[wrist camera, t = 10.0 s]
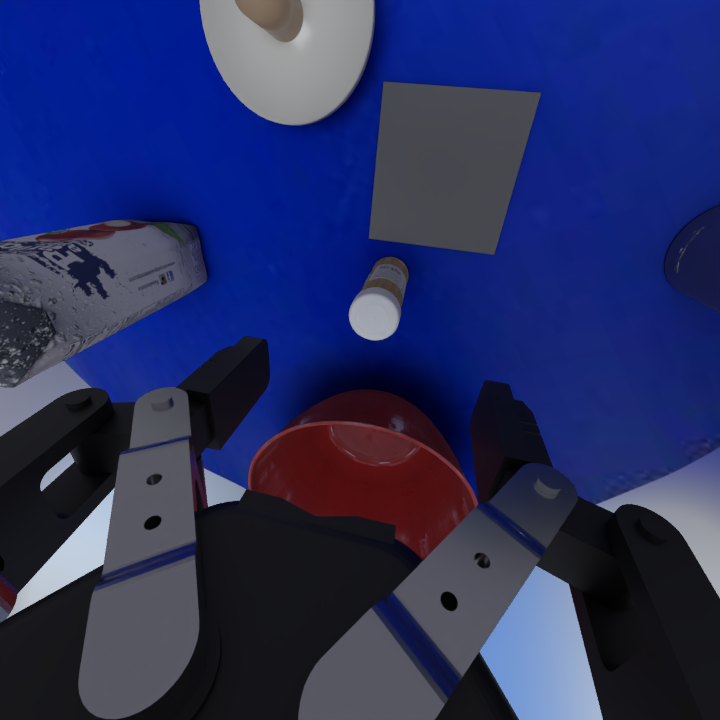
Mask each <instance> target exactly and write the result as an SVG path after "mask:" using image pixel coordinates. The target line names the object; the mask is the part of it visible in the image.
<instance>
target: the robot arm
mask: <svg viewBox="0 0 720 720" xmlns="http://www.w3.org/2000/svg"><path fill="white" fill-rule="evenodd" d="M665 274H666V277H667V279H668V281H669V283H670V284H671V285H672V286H673V287H674V288H675V289H677V290H678V291H680V292H681V293H683V294H685V295H687V296H689V297H691V298H693V299H695V300H696V301H698V302H700V303H702V304H703V305H705V306H707V307H709V308H711V309H713V310H715V311H716V312H718V313H720V206H717V207H715V208H713V209H710V210H708V211H707V212H705V213H703V214H702V215H700V216H698V217H697V218H696V219H694V220H693V221H692V222H691V223H689V224H688V225H687V226H686V227H685V228H684V229H683V230H682V231H681V232H680V233H679V234H678V235H677V237H676V238H675V240H674V241H673V243H672V244H671V246H670V248H669V251H668V253H667V255H666V260H665ZM269 379H270V367H269V352H268V343H267V341H266V340H265V339H260V338H255V337H249V336H245V337H243V338H242V339H241V340H240V341H239V342H238V343H237V344H236V345H235V346H233V347H232V346H229V347H227V348H225V349H223V350H220V351H218V352H217V353H215V354H214V355H213V356H212V357H211V358H210V359H209V360H208V361H206V362H205V363H204V364H203V365H202V366H201V367H199V368H198V369H197V370H196V371H195V372H193V373H192V374H191V375H190V376H189V377H188V378H186V379H185V380H184V381H183V382H182V383H181V384H180V385H178V386H177V387H176V388H172V387H169V388H161V389H157V390H153V391H151V392H148V393H147V394H145V395H143V396H142V397H141V398H139V399H138V400H137V402H128V403H111V400H110V398H109V395H108V393H107V392H106V391H105V390H102V389H99V388H86V389H80V390H76V391H73V392H70V393H67V394H65V395H63V396H61V397H59V398H57V399H56V400H54V401H53V402H51V403H50V404H48V405H47V406H45V407H44V408H43V409H41V410H40V411H38V412H37V413H35V414H34V415H32V416H31V417H29V418H28V419H26V420H25V421H23V422H22V423H20V424H19V425H17V426H16V427H14V428H13V429H12V430H10V431H8V432H7V433H5V434H4V435H2V436H1V437H0V720H519V719H518V717H517V716H516V714H515V712H514V710H513V709H512V707H511V705H510V704H509V702H508V700H507V699H506V697H505V695H504V693H503V692H502V690H501V688H500V687H499V685H498V683H497V681H496V679H495V678H494V676H493V674H492V673H491V671H490V669H489V668H488V666H487V664H486V662H485V661H484V659H483V657H482V655H481V654H480V652H479V651H480V649H481V648H482V647H483V645H484V644H485V642H486V640H487V639H488V637H489V636H490V634H491V633H492V631H493V630H494V628H495V627H496V625H497V624H498V622H499V621H500V619H501V618H502V616H503V615H504V613H505V612H506V610H507V609H508V607H509V606H510V604H511V603H512V601H513V599H514V598H515V596H516V595H517V593H518V592H519V590H520V589H521V587H522V586H523V584H524V583H525V581H526V580H527V578H528V577H529V575H530V574H531V572H532V571H533V569H534V568H535V566H538V567H540V568H542V569H543V570H545V571H547V572H549V573H550V574H552V575H554V576H556V577H558V578H560V579H561V580H563V581H565V582H567V583H569V586H570V590H571V594H572V598H573V602H574V606H575V610H576V614H577V618H578V621H579V625H580V630H581V634H582V638H583V641H584V646H585V650H586V653H587V658H588V662H589V665H590V669H591V673H592V677H593V681H594V685H595V689H596V693H597V697H598V701H599V705H600V709H601V713H602V717H603V720H720V598H719V596H718V595H717V593H716V591H715V590H714V588H713V586H712V585H711V583H710V581H709V580H708V578H707V576H706V574H705V573H704V571H703V569H702V568H701V566H700V564H699V563H698V561H697V559H696V557H695V556H694V554H693V552H692V551H691V549H690V547H689V546H688V544H687V542H686V541H685V539H684V538H683V536H682V535H681V534H680V532H679V531H678V530H677V529H676V528H675V527H674V526H673V525H672V524H671V523H669V522H668V521H667V520H666V519H664V518H663V517H661V516H660V515H658V514H657V513H655V512H653V511H651V510H649V509H647V508H644V507H641V506H638V505H633V504H626V505H622V506H620V507H619V508H618V509H617V510H616V511H615V513H612V512H610V511H608V510H606V509H604V508H601V507H599V506H597V505H595V504H593V503H591V502H588V501H586V500H584V499H582V498H581V497H579V496H578V494H577V491H576V489H575V487H574V485H573V484H572V483H571V481H570V480H569V479H568V478H567V477H566V476H565V475H563V474H562V473H561V472H559V471H558V470H556V469H554V468H553V466H552V463H551V461H550V458H549V455H548V453H547V450H546V447H545V445H544V442H543V439H542V437H541V435H540V431H539V429H538V426H536V424H537V423H536V421H535V418H534V415H533V413H532V411H531V410H530V409H529V408H528V407H527V406H526V405H525V404H524V403H523V401H518V400H514V398H513V395H512V392H511V389H510V386H509V384H505V383H500V382H494V381H489V380H485V382H484V383H483V386H482V388H481V391H480V394H479V397H478V400H477V403H476V405H475V408H474V411H473V414H472V418H471V424H470V433H471V442H472V450H473V459H474V467H475V476H476V484H477V492H478V501H479V504H478V505H477V506H476V507H475V508H474V509H473V510H472V511H471V512H470V513H469V514H468V515H467V516H466V517H465V518H464V519H463V521H462V522H461V523H460V524H459V525H458V526H457V527H456V528H455V529H454V530H453V531H452V532H451V533H450V534H449V535H448V536H447V537H446V538H445V539H444V540H443V541H442V542H441V543H440V544H439V545H438V546H437V547H436V548H435V549H434V550H433V551H432V552H431V553H430V554H429V555H428V556H427V557H426V558H425V559H424V560H422V559H421V557H420V556H419V555H418V554H416V553H415V552H414V551H413V550H412V549H411V548H409V547H408V546H407V545H405V544H404V543H402V542H401V541H399V540H397V539H395V531H396V525H392V524H388V523H384V522H380V521H375V520H371V519H367V518H363V517H359V516H315V515H312V514H311V513H309V512H307V511H305V510H303V509H301V508H300V507H298V506H296V505H294V504H292V503H290V502H289V501H287V500H285V499H283V498H280V497H276V496H272V495H268V494H264V493H260V492H256V491H252V490H247V489H246V491H245V493H244V495H243V496H242V498H241V500H240V501H232V502H225V503H220V504H216V505H213V506H210V507H208V504H207V495H206V486H205V477H204V468H203V459H202V455H201V453H202V452H203V451H204V450H205V448H206V447H207V448H211V449H215V450H220V449H221V448H222V447H223V445H224V444H225V443H226V441H227V440H228V439H229V437H230V436H231V435H232V433H233V432H234V431H235V430H236V428H237V427H238V426H239V424H240V423H241V422H242V420H243V419H244V418H245V416H246V415H247V414H248V412H249V411H250V410H251V408H252V407H253V406H254V404H255V403H256V402H257V400H258V399H259V398H260V396H261V395H262V394H263V392H264V391H265V390H266V388H267V386H268V383H269ZM69 452H70V453H71V455H72V457H73V459H74V461H75V462H74V463H73V464H72V465H71V466H70V467H68V468H67V469H66V470H65V471H64V472H63V473H62V474H61V475H60V476H58V477H57V478H56V479H55V480H54V481H53V482H52V483H51V484H50V485H48V486H47V487H46V488H45V489H44V490H43V491H42V492H41V490H40V483H41V480H42V478H43V476H44V475H45V474H46V472H47V471H48V470H50V469H51V468H52V467H53V466H54V465H55V464H57V463H58V462H59V461H60V460H61V459H62V458H64V457H65V456H66V455H67V454H68V453H69ZM114 487H115V490H114V497H113V505H112V512H111V518H110V525H109V532H108V539H107V546H106V553H105V560H104V564H103V565H102V566H100V567H98V568H96V569H95V570H93V571H91V572H89V573H87V574H86V575H84V576H82V577H80V578H78V579H77V580H75V581H73V582H71V583H70V584H68V585H66V586H64V587H62V588H61V589H59V590H57V591H55V592H54V593H52V594H50V595H48V596H46V597H45V598H43V599H41V600H39V601H38V602H36V603H34V604H32V605H30V606H29V607H27V608H25V609H23V610H21V611H20V612H18V613H16V614H14V615H13V616H11V617H9V618H7V617H8V616H9V614H10V612H11V611H12V609H13V607H14V605H15V602H16V599H17V594H18V593H19V591H20V590H21V589H22V588H23V587H24V586H25V585H26V584H27V583H28V582H29V581H30V579H31V578H32V577H33V576H34V575H35V574H36V573H37V572H38V571H39V570H40V568H41V567H42V566H43V565H44V564H45V563H46V562H47V561H48V559H50V557H51V556H52V555H53V554H54V553H55V552H56V551H57V550H58V549H59V548H60V546H61V545H62V544H63V543H64V542H65V541H66V540H67V539H68V538H69V537H70V535H71V534H72V533H73V532H74V531H75V530H76V529H77V528H78V527H79V526H80V525H81V524H82V522H83V521H84V520H85V519H86V518H87V517H88V516H89V515H90V514H91V513H92V511H93V510H94V509H95V508H96V507H97V506H98V505H99V504H100V503H101V501H102V500H103V499H104V498H105V497H106V496H107V495H108V494H109V493H110V492H111V491H112V490H113V488H114ZM6 618H7V619H6Z"/></svg>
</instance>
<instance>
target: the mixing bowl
mask: <svg viewBox="0 0 720 720" xmlns="http://www.w3.org/2000/svg"><path fill="white" fill-rule="evenodd" d="M248 486H249V490H252V491H256V492H260V493H264V494H268V495H272V496H276V497H280V498H283V499H285V500H287V501H289V502H290V503H292V504H294V505H296V506H298V507H300V508H301V509H303V510H305V511H307V512H309V513H311V514H312V515H315V516H359V517H363V518H367V519H371V520H375V521H380V522H384V523H388V524H392V525H396V531H395V539H397V540H399V541H401V542H402V543H404V544H405V545H407V546H408V547H409V548H411V549H412V550H413V551H414V552H415V553H416V554H418V555H419V556H420V557H421V559H422V560H424V559H425V558H426V557H427V556H428V555H429V554H430V553H431V552H432V551H433V550H434V549H435V548H436V547H437V546H438V545H439V544H440V543H441V542H442V541H443V540H444V539H445V538H446V537H447V536H448V535H449V534H450V533H451V532H452V531H453V530H454V529H455V528H456V527H457V526H458V525H459V524H460V523H461V522H462V521H463V519H464V518H465V517H466V516H467V515H468V514H469V513H470V512H471V511H472V510H473V509H474V508H475V507H476V506H477V505H478V502H477V499H476V496H475V494H474V492H473V490H472V488H471V486H470V484H469V483H468V481H467V480H466V478H465V476H464V474H463V471H462V469H461V467H460V465H459V463H458V461H457V459H456V457H455V455H454V453H453V452H452V450H451V448H450V446H449V445H448V443H447V442H446V440H445V439H444V437H443V436H442V435H441V433H440V432H439V430H438V429H437V428H436V426H435V425H434V424H433V423H432V422H431V420H430V419H429V418H428V417H427V416H426V415H425V414H424V413H423V412H422V411H420V410H419V409H418V408H417V407H416V406H414V405H413V404H412V403H410V402H408V401H407V400H405V399H403V398H401V397H399V396H396V395H394V394H391V393H389V392H384V391H379V390H370V389H358V390H352V391H346V392H343V393H340V394H337V395H334V396H332V397H330V398H328V399H325V400H323V401H321V402H319V403H318V404H316V405H314V406H313V407H311V408H309V409H308V410H306V411H305V412H303V413H302V414H301V415H299V416H298V417H296V418H295V419H294V420H293V421H292V422H290V423H289V424H288V425H287V426H286V427H285V428H284V429H282V430H281V431H280V432H279V433H278V434H276V435H275V436H273V437H272V438H271V439H269V440H268V441H267V442H266V443H265V444H264V445H263V446H262V447H261V448H260V449H259V450H258V452H257V453H256V455H255V456H254V458H253V460H252V463H251V466H250V469H249V475H248Z"/></svg>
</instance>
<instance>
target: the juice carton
mask: <svg viewBox="0 0 720 720" xmlns="http://www.w3.org/2000/svg"><path fill="white" fill-rule="evenodd" d="M206 281H207V273H206V268H205V264H204V260H203V256H202V251H201V245H200V240H199V235H198V231H197V228H196V227H195V226H193V225H188V224H180V223H170V222H146V221H138V220H114V221H108V222H102V223H97V224H91V225H86V226H80V227H75V228H69V229H64V230H58V231H53V232H48V233H42V234H37V235H31V236H26V237H20V238H15V239H9V240H4V241H0V386H1V387H16V386H17V385H19V384H21V383H23V382H24V381H26V380H28V379H30V378H32V377H33V376H35V375H37V374H39V373H40V372H42V371H44V370H46V369H48V368H50V367H52V366H54V365H56V364H58V363H60V362H62V361H64V360H66V359H68V358H69V357H71V356H73V355H75V354H77V353H79V352H81V351H83V350H84V349H86V348H88V347H90V346H92V345H94V344H96V343H98V342H99V341H101V340H103V339H105V338H107V337H109V336H111V335H112V334H114V333H116V332H118V331H120V330H122V329H124V328H126V327H127V326H129V325H131V324H133V323H135V322H137V321H139V320H141V319H142V318H144V317H146V316H148V315H150V314H152V313H154V312H155V311H157V310H159V309H161V308H163V307H165V306H167V305H168V304H170V303H172V302H174V301H176V300H178V299H180V298H181V297H183V296H185V295H187V294H188V293H190V292H192V291H193V290H195V289H196V288H198V287H199V286H201V285H202V284H204V283H205V282H206Z"/></svg>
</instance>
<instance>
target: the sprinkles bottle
mask: <svg viewBox="0 0 720 720" xmlns="http://www.w3.org/2000/svg"><path fill="white" fill-rule="evenodd" d="M408 277H409V274H408V269H407V267H406V265H405V264H404V263H403V262H402V261H401V260H399V259H397V258H395V257H385V258H382V259H381V260H379V261H378V262H376V264H375V265H374V267H373V270H372V272H371V273H370V274H369V276H368V278H367V280H366V281H365V284H364V286H363V288H362V290H361V292H360V293H359V294H358V295H357V296H356V297H355V299H354V301H353V302H352V305H351V307H350V310H349V321H350V324H351V326H352V328H353V329H354V331H355V332H356V333H357V334H359V335H360V336H361V337H363V338H366V339H369V340H382V339H385V338H387V337H389V336H390V335H392V334H393V333H394V332H395V330H396V329H397V327H398V324H399V320H400V316H401V305H402V302H403V297H404V293H405V289H406V284H407V282H408Z"/></svg>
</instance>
